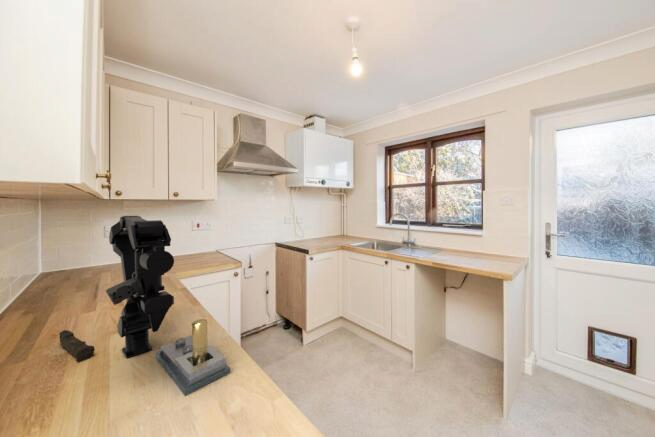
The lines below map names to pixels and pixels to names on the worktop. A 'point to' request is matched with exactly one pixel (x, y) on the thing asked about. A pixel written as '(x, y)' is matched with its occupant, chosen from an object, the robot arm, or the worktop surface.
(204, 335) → the pin
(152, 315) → the robot arm
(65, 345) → the hand tool
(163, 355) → the tiered gray console
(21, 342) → the worktop surface
